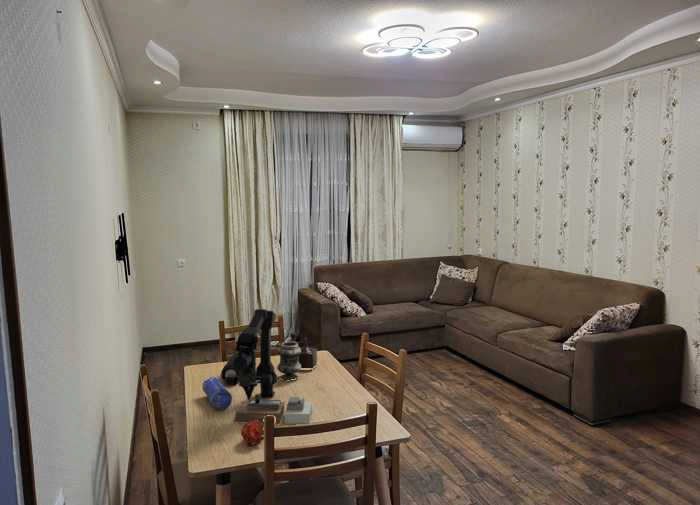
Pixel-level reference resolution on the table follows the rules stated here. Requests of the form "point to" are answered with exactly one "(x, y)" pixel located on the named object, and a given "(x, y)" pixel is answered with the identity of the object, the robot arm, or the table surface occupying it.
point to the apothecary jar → (289, 360)
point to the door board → (259, 411)
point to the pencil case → (217, 393)
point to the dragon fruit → (253, 432)
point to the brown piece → (306, 354)
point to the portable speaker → (230, 368)
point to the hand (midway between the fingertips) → (249, 399)
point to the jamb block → (298, 411)
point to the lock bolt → (258, 401)
